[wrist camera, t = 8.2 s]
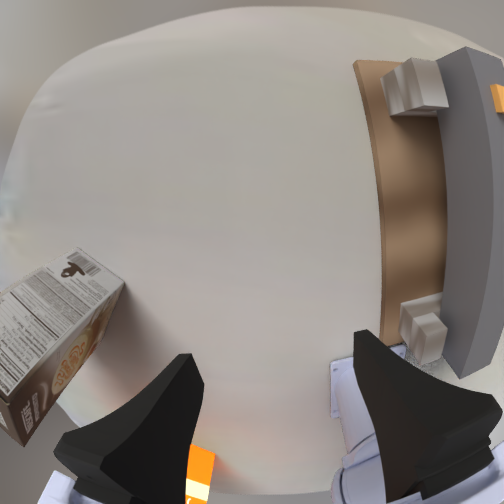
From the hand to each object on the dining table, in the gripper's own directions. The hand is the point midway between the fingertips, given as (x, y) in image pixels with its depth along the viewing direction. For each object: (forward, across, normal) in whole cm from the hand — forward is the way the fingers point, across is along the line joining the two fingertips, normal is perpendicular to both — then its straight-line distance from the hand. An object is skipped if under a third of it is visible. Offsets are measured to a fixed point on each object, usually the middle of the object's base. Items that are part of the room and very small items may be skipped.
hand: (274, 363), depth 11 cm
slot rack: (+10, -15, -3) cm, 18 cm away
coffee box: (+11, +18, 0) cm, 21 cm away
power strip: (+7, -15, -3) cm, 17 cm away
